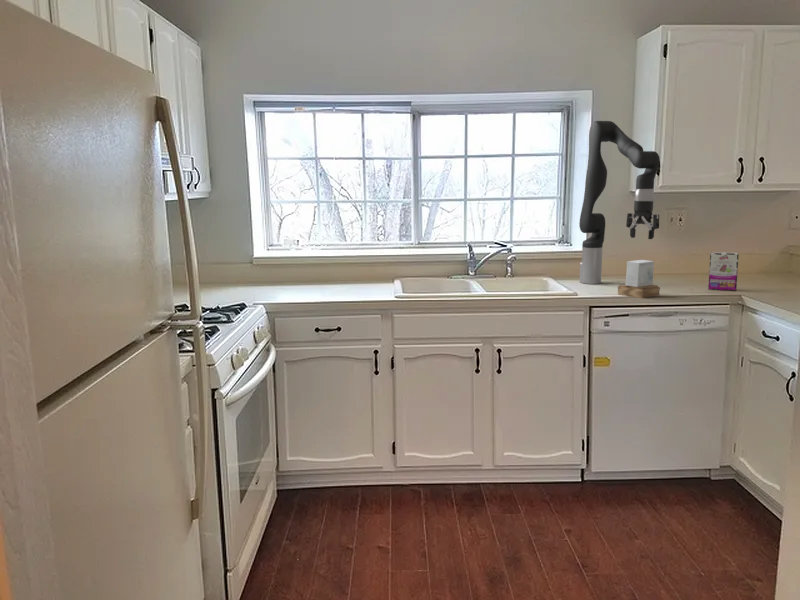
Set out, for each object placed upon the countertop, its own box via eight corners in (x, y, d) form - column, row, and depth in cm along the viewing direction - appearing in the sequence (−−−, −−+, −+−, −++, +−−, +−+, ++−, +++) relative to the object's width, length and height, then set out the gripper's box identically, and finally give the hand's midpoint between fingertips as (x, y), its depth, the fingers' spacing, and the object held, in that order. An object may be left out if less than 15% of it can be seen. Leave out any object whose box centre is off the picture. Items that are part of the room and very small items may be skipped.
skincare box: (638, 287, 263) (639, 262, 261) (625, 285, 269) (626, 261, 267) (653, 285, 269) (654, 260, 267) (640, 283, 274) (641, 259, 272)
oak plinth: (617, 294, 271) (618, 285, 270) (634, 291, 278) (634, 282, 277) (642, 298, 261) (642, 288, 261) (659, 294, 268) (659, 285, 268)
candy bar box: (736, 289, 278) (739, 252, 275) (736, 291, 274) (739, 253, 271) (708, 288, 283) (710, 251, 280) (707, 289, 279) (710, 252, 276)
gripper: (623, 199, 269) (621, 237, 272) (653, 200, 257) (651, 240, 260) (634, 199, 273) (632, 236, 276) (664, 199, 262) (661, 239, 265)
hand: (641, 238), depth 268 cm, fingers open, 8 cm apart
